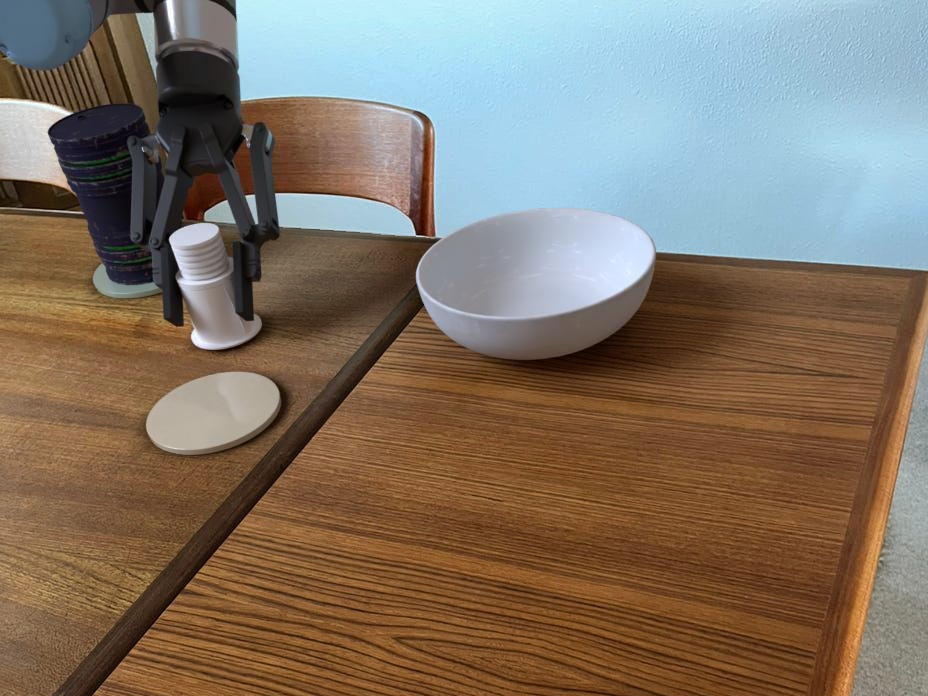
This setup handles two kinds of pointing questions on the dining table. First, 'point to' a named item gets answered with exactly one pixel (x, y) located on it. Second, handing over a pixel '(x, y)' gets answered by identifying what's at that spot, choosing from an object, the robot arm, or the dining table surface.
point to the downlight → (209, 288)
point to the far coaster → (121, 286)
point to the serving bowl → (537, 281)
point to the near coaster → (213, 413)
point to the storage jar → (107, 182)
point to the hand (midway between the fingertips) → (209, 319)
